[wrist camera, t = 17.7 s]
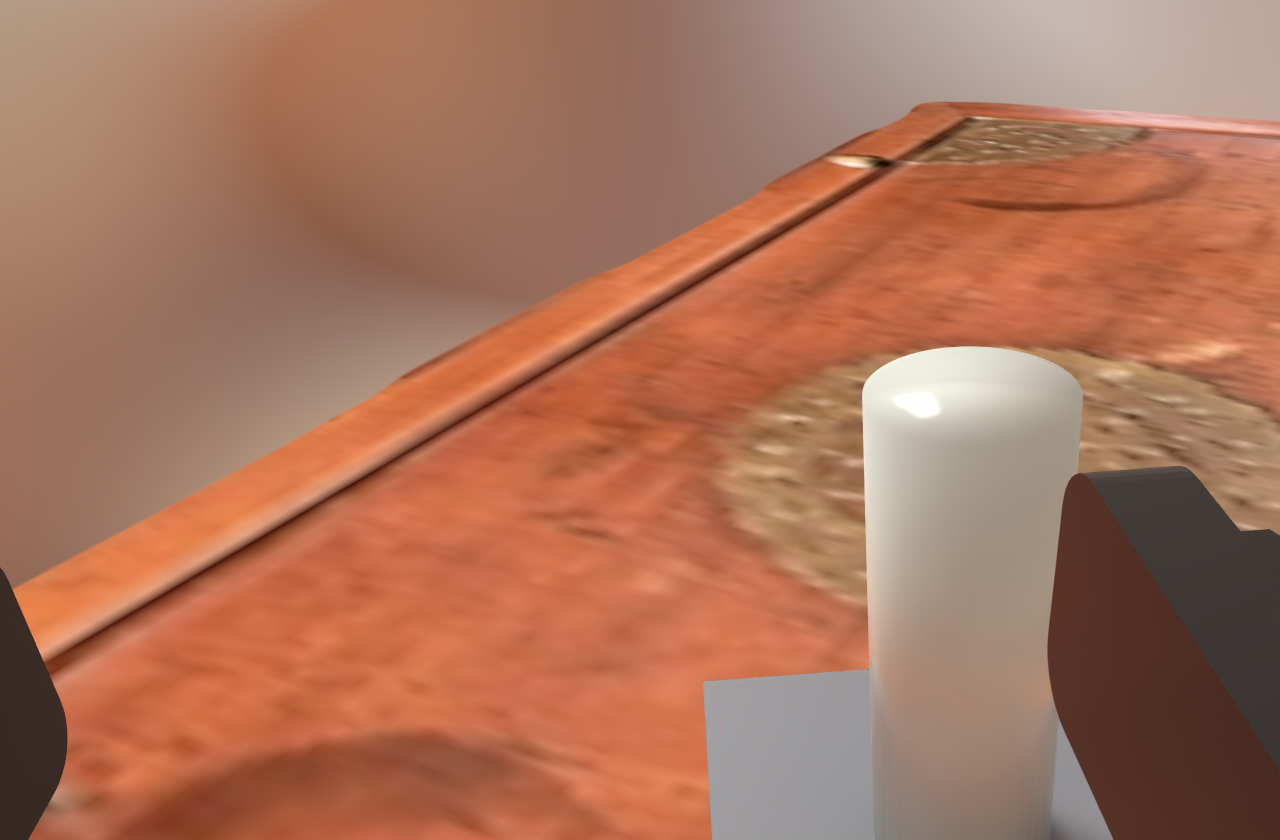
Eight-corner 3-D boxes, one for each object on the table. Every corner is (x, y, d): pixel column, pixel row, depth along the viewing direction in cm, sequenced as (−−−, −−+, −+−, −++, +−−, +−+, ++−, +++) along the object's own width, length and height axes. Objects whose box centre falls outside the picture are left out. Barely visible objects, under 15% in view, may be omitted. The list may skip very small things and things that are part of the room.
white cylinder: (889, 907, 31) (881, 454, 24) (861, 774, 35) (848, 357, 29) (1073, 895, 31) (1114, 433, 24) (1022, 762, 35) (1046, 337, 28)
